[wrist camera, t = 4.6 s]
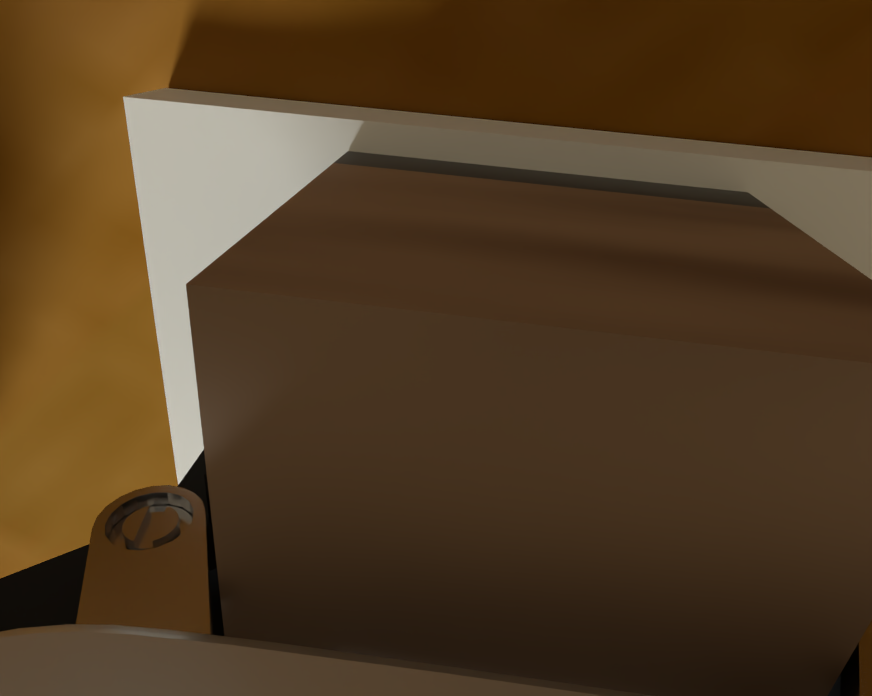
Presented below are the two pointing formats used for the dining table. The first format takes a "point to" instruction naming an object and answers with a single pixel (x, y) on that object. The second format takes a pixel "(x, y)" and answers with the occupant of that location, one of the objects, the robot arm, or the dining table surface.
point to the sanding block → (540, 429)
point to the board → (417, 138)
